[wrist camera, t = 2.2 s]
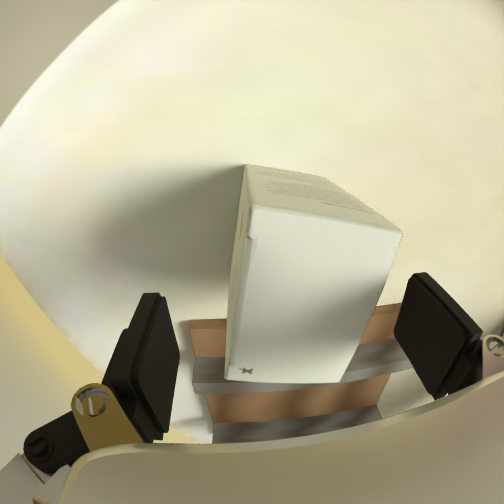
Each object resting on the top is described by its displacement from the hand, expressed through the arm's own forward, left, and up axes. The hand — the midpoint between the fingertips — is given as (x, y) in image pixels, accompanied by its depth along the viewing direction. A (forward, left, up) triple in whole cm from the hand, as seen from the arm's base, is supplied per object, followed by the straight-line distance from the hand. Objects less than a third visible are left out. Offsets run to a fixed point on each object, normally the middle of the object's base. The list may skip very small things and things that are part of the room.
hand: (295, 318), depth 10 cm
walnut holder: (-4, +18, -10) cm, 21 cm away
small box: (-1, 0, -11) cm, 11 cm away
